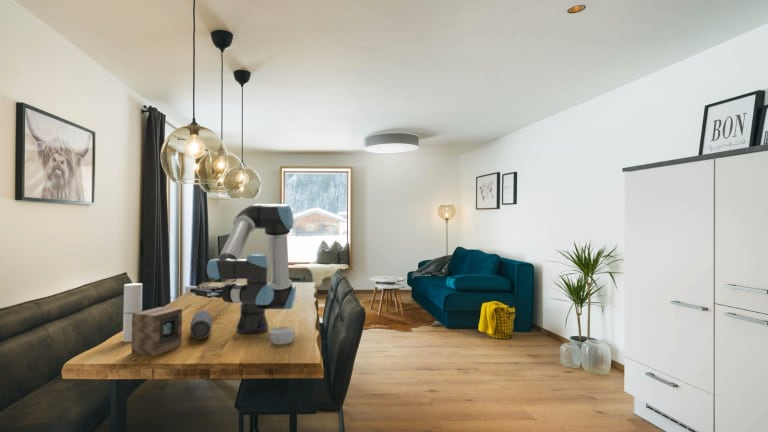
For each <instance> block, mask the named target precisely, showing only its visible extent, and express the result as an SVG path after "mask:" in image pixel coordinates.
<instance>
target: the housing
mask: <svg viewBox="0 0 768 432" xmlns="http://www.w3.org/2000/svg"><path fill="white" fill-rule="evenodd" d="M182 322H183V308H175V307H166V306H165V307H164V306H158V307H155V308H153V307H152V308H150V309H147V310H146V309H145V310H142V311H141V312H137V313H133V314H132V342H131V354H136V355H137V354H139V355H146V356H152V357H153V356H158V355H160V354H164V353H166V352H169V351H171V350H174V349H177V348H180V347H182V339H183V338H182V335H183V334H182V333H183V332H182V331H183V330H182V329H183V327H182V325H183V323H182ZM164 323H172V324H173V326H174V329H173V332H172V333H171V334H170V335H164Z"/></svg>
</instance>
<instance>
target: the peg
mask: <svg viewBox="0 0 768 432" xmlns="http://www.w3.org/2000/svg"><path fill="white" fill-rule="evenodd" d="M173 329H174V326H173V324H172V323H164V335H170V334H171V333H172V332H173Z"/></svg>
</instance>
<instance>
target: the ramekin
mask: <svg viewBox="0 0 768 432" xmlns="http://www.w3.org/2000/svg"><path fill="white" fill-rule="evenodd" d="M295 332H296V331H295V329H294V328H293V327H288V326H287V327H286V326H284V327H283V326H281V327H275V328H272V329H270V330H269V331H268V334H269V338H270V339H269V340H270V342H271V343H272V344H273V345H287V344H290V343H292V342H293V340H294V335H295Z"/></svg>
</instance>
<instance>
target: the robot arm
mask: <svg viewBox="0 0 768 432" xmlns="http://www.w3.org/2000/svg"><path fill="white" fill-rule="evenodd" d="M232 225H233V227H232V229H231V231H230V233H229V236H228V238H227V239H226V242H225V244H224V246H223V248H222V250H221V252H220V254H219V256H218V257H217V258H212V259H210V260H209V261H208V262H207V265H206V273H207V276H208V278H210V279H215V280H216V279H218V280H224V279H225V280H233V279H239V280H241V279H242V280H243V279H245V280H246V283H234V282H232V283H231V282H228V283H226V284H224V285H223V286H220V285H219V286H213V285H206V286H200V285H197V286H196V285H195V286H193V285H186V286H185V285H184V294H190V295H191V294H192V295H195V296H196V297H197V296H199V297H203V298H209V299H211V298H218V299H222V300H223V301H224V302H226V303H232V304H233V303H236V304H240V316H239V318H238V321H237V324H236V329H235V330H236V333H237V334H242V335H255V334H260V333H265V332H267V331H268V330H269V323H268V320H267V316H266V310H291V309H293V307H294V304H295V300H296V299H295V298H296V292H297V291H296V290H297V286H296V285H294V284H293V281H292V280H291V279H290V276H289V275H290V274H289V270H290V269H289V253H288V252H289V251H288V250H289V249H288V235H289V234H290V232H291V230H292V229H293V228H294V215H293V210H292V207H291V206H290V205H288V204H282V203H267V204H266V203H254V204H251V205H249V206H247V207H246V208H243V210H241V211H240V212H239V213H237V215H236V217H235V218H234V220H233V224H232ZM257 229H259V230H260V229H261V230H264V234H265V235H266V236H268V249H269V250H268V251H269V268H270V281H269V282H268V257H267V255H266V254H263V253H251V254H247V257H246V258H243V259H242V258H241V256H242V253H243V251H244V248H245V246H246V245H247V241H248V240H249V237H250V235H251V234H252V233H253V232H254V230H257Z"/></svg>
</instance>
